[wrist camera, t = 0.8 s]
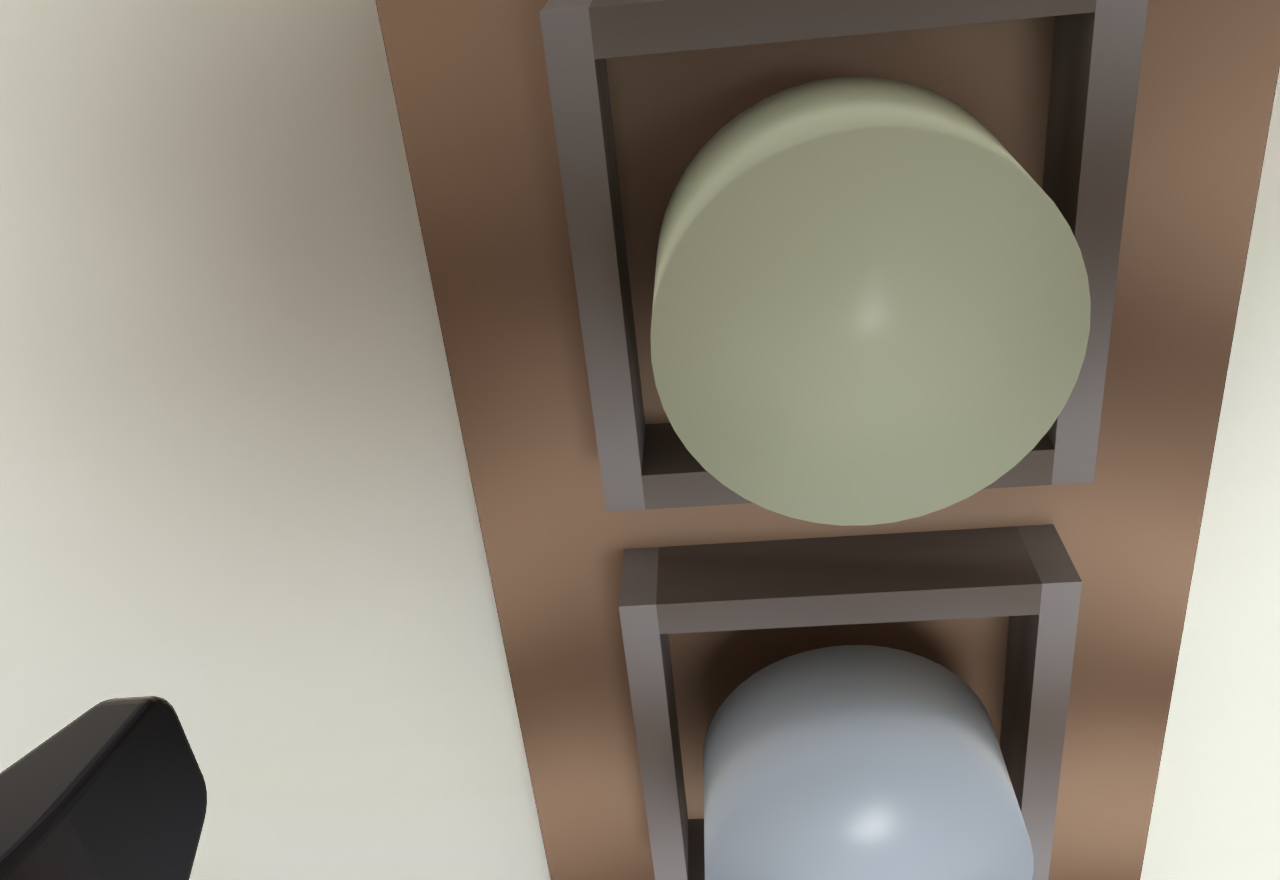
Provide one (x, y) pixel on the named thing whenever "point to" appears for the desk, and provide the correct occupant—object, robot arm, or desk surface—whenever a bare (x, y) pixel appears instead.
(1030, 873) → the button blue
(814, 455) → the button green
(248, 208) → the desk surface
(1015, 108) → the button panel
